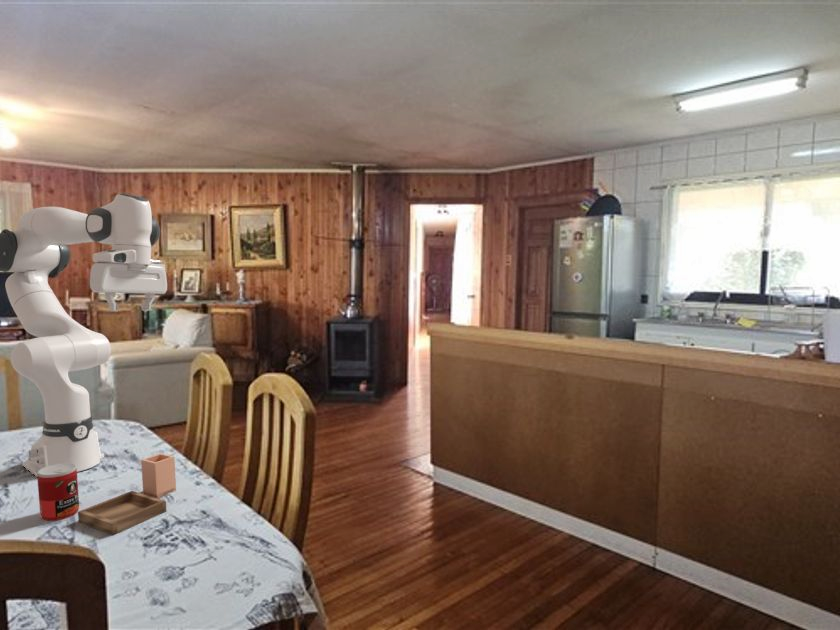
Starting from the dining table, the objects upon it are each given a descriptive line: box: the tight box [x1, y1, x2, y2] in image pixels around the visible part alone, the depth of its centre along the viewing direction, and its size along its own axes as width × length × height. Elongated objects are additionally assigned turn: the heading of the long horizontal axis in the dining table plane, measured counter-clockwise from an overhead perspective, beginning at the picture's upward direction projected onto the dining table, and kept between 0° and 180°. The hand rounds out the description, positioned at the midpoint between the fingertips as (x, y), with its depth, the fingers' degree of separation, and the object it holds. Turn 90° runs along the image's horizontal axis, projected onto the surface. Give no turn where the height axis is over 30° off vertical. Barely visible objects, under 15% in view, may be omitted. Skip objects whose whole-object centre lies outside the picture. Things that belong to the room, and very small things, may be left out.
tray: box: [77, 490, 167, 536], centre depth 125 cm, size 13×13×2 cm
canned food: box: [36, 463, 80, 522], centre depth 127 cm, size 8×8×11 cm
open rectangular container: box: [140, 452, 177, 499], centre depth 139 cm, size 6×6×9 cm
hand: (130, 311), depth 139 cm, fingers open, 8 cm apart
